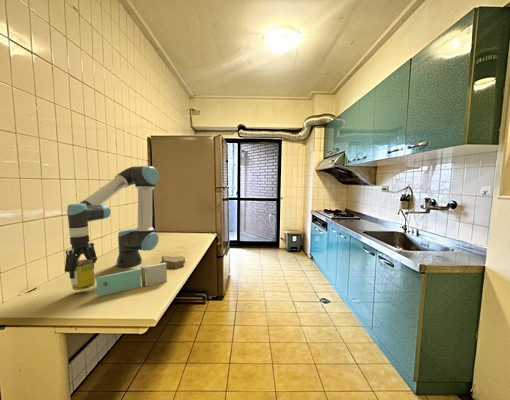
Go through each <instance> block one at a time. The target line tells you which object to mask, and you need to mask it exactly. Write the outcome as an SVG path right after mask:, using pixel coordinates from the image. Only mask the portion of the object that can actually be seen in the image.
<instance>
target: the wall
mask: <svg viewBox="0 0 510 400" xmlns="http://www.w3.org/2000/svg"><path fill="white" fill-rule="evenodd" d="M140 273H141V287H142V288H145V287H149V286H153V285H157V284H162V283H165V282H168V278H167V277H168V276H167V274H168V273H167V268H166V263H162V262H161V263H157V264H156V263H155V264H152V265H150V264H149V265H146V266H141V267H140Z"/></svg>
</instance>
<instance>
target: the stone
mask: <svg viewBox="0 0 510 400" xmlns="http://www.w3.org/2000/svg"><path fill="white" fill-rule="evenodd" d="M161 263H166V269H178V268H182V267H183V266H184V264H185V263H186V258H185V257H184V256H169V255H162V256H161Z"/></svg>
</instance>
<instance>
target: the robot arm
mask: <svg viewBox="0 0 510 400" xmlns="http://www.w3.org/2000/svg"><path fill="white" fill-rule="evenodd" d="M159 181H160V175H159V172H158V170H157V169H156V168H155V167H154V166H150V165H141V166H130V167H127V168H125V169H123V170H122V171H121V172H119V173H118V174H116V175H115V176H114V178H113V179H111V180H110V181H109V182H108V183H106V184H105V185H103V186H102V187H100V188H99V189H98V190H97V191H95V192H93V193H92V194H90V195H89V196H88V197H86V198H85V199H83V200H82V201H81V202H79V203H78V202H77V203H70V204H68V205H67V206H66V207H67V209H66V210H67V211H66V213H67V221H68V222H67V223H68V230H69V232H68V233H69V236H70V237H69V243H70V245H71V249H67V250H65V255H66V256H65V262H64V263H65V266H64V272H65V273H68V274H69V279H70V281H71V285H77V284H78V280H77V271H75V269H76V266H77V262H78V261H79V260H80V258H81V255H83V256H84V257H85V259H88V260H93V270H94V271H95V264H96V263H97V261H98V257H97V253H96V250H95V243H94V242H90V235H89V232H90V231H89V222H93V221H98V220H104V219H108V218H109V217H110V216H111V214H112V213H111V207H110V206H109V205H107V204H104V203H106V202H107V201H108V200H109V199H111V198H112V197H114V196H115V195H116V194H118V193H119V192H120V191H121V190H123V189H127V188H128V187H129V186H133V185H134V186H135V189H137V226H136V227H135V228H131V229H129V228H128V229H122V230H119V231H118V234H117V241H118V243H117V244H118V256H117V258H116V262H115V265H116V266H117V267H118V268H130V267H135V266H138V265H141V264H142V263H143V260H142V256H141V253H140V251H144V252H146V251H148V252H149V251H153V250H154V249H155V248H156V246H157V245H158V243H159V239H160V237H159V234H158V233H156V232H155V228H154V227H153V190H155V188H156V184H158V182H159Z"/></svg>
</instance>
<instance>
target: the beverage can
mask: <svg viewBox="0 0 510 400" xmlns="http://www.w3.org/2000/svg"><path fill="white" fill-rule="evenodd" d="M75 271H77V280H78V284H77V285H72V284H71V285H72V290H73V291H81V290H83V291H84V290H86V289H89V288H91V287H94V286H95V284H96V282H95V269H94V270H93V260H88V259H86V258H85V259H78V262H77V266H76V269H75Z"/></svg>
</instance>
